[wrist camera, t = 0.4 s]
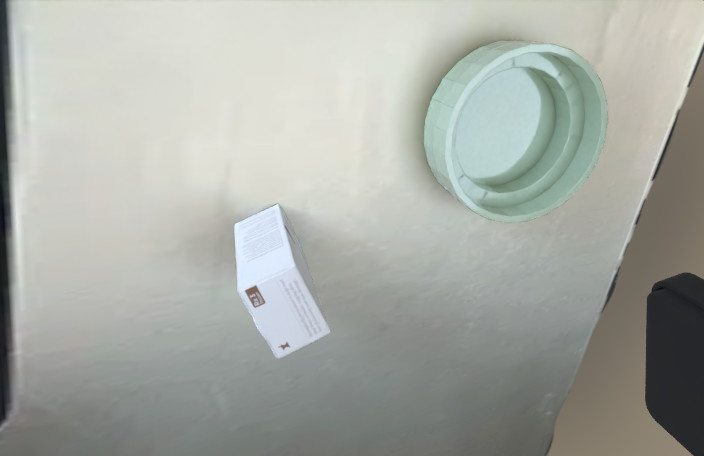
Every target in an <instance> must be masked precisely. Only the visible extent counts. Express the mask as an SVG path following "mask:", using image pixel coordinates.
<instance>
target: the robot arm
mask: <svg viewBox="0 0 704 456" xmlns="http://www.w3.org/2000/svg"><path fill="white" fill-rule="evenodd" d="M645 389H646V390H645V391H646V393H645V401H646V406H647V409H648V411H649V413H650V414H651V416H652V417H653V418H654V419H655V421H656V422H657V423H659V424H660V425H661V426H662V427H663V428H664V429H665V430H666V431H667V432H668V433H669V434H671V435H672V436H673V437H674V438H675V439H676V440H677V441H678V442H679V443H681V445H683V446H684V447H685V448H686V449H687V450H688V451H689V452H690V453H691V454H692V455H694V456H704V280H703V279H701V278H700V277H698V276H696V275H694V274H691V273H681V274H678V275H676V276H673V277H671V278H667V279H665V280H662V281H659V282H657V283H655V284H654V286H653V288H652V292H651V293H650V294H649V295H648V297H647V328H646V388H645Z"/></svg>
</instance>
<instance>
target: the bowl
mask: <svg viewBox="0 0 704 456" xmlns="http://www.w3.org/2000/svg"><path fill="white" fill-rule="evenodd" d="M607 125H608V110H607V98H606V95H605V92H604V89H603V86H602V83H601V80H600V78H599V77H598V75H597V74H596V72H595V71H594V69H593V68H592V67H591V65H590V64H589V63H588V61H586V60H585V59H584V58H582V57H581V56H579V55H578V54H577V53H575V52H574V51H573V50H571V49H568V48H564V47H561V46H558V45H555V44H551V43H542V42H533V41H525V40H501V41H497V42H494V43H491V44H488V45H485V46H482V47H479V48H478V49H476V50H475V51H473V52H471V53H470V54H468V55H467V56H465V57H464V58H462V59H461V60H460V61H458V62H457V64H456V65H455V66H454V67H453V68H452V69H451V70H450V71H449V72H448V73H447V74H446V75H445V76H444V78H443V79H442V81H441V83H440V84H439V86H438V88H437V90H436V91H435V93H434V95H433V97H432V99H431V102H430V105H429V108H428V112H427V115H426V119H425V127H424V147H425V152H426V157H427V161H428V164H429V166H430V168H431V170H432V172H433V174H434V176H435V178H436V180H437V181H438V182H439V183H440V184H441V185H442V186H443V187H444V188H445V189H446V190H447V191H448V192H449V193H450V194H451V195H452V196H453V197H455V198H456V199H457V200H459V201H460V202H461V203H462V204H464V205H465V206H466V207H468V208H469V209H470V210H472V211H473V212H475V213H477V214H479V215H481V216H483V217H485V218H487V219H489V220H493V221H499V222H505V223H513V222H522V221H530V220H532V219H535V218H538V217H540V216H543V215H546V214H548V213H550V212H551V211H553V210H554V209H556V208H557V207H559V206H560V205H562V204H563V203H565V202H566V201H567V200H568V199H569V198H570V197H571V196H572V195H573V194H574V193H575V192H576V191H577V190H578V189H579V188H580V187H581V186H582V185H583V184H584V183H585V181H586V179H587V178H588V176H589V175H590V173H591V172H592V170H593V169H594V167H595V165H596V163H597V161H598V158H599V156H600V153H601V151H602V148H603V146H604V142H605V136H606V131H607Z"/></svg>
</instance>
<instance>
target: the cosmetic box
mask: <svg viewBox="0 0 704 456" xmlns="http://www.w3.org/2000/svg"><path fill="white" fill-rule="evenodd" d="M234 231H235V249H236V269H237V286H238V293H239V295H240V297H241V299H242V300H243V302H244V304H245V305H246V307H247V309H248V311H249V312H250V314H251V316H252V318H253V320H254V323H255V325H256V327H257V329H258V330H259V332H260V333H261V334H262V335H263V337H264V338H265V340H266V342H267V343H268V345H269V347H270V348H271V350H272V352H273V353H274V355H275V357H276V358H277V359H279V358H281V357H283V356H286V355H288V354H290V353H292V352H294V351H296V350H298V349H300V348H302V347H304V346H306V345H308V344H309V343H312V342H313V341H316V340H317V339H319V338H321V337H323V336H325V335H326V334H328V333H330V332H331V330H330V328H329V325H328V323H327V320H326V316H325V314H324V310H323V307H322V304H321V301H320V298H319V296H318V293H317V290H316V287H315V284H314V281H313V278H312V275H311V272H310V269H309V266H308V263H307V261H306V258H305V256H304V253H303V251H302V248H301V246H300V244H299V241H298V239H297V237H296V235H295V233H294V231H293V229H292V227H291V225H290V223H289V221H288V219H287V217H286V215H285V214H284V212H283V210H282V208H281V206H280V205H279V204H277V205H275V206H272V207H270V208H268V209H266V210H263V211H261V212H259V213H257V214H255V215H252V216H250V217H248V218H246V219H244V220H242V221H240V222H237V223H235V224H234Z"/></svg>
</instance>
